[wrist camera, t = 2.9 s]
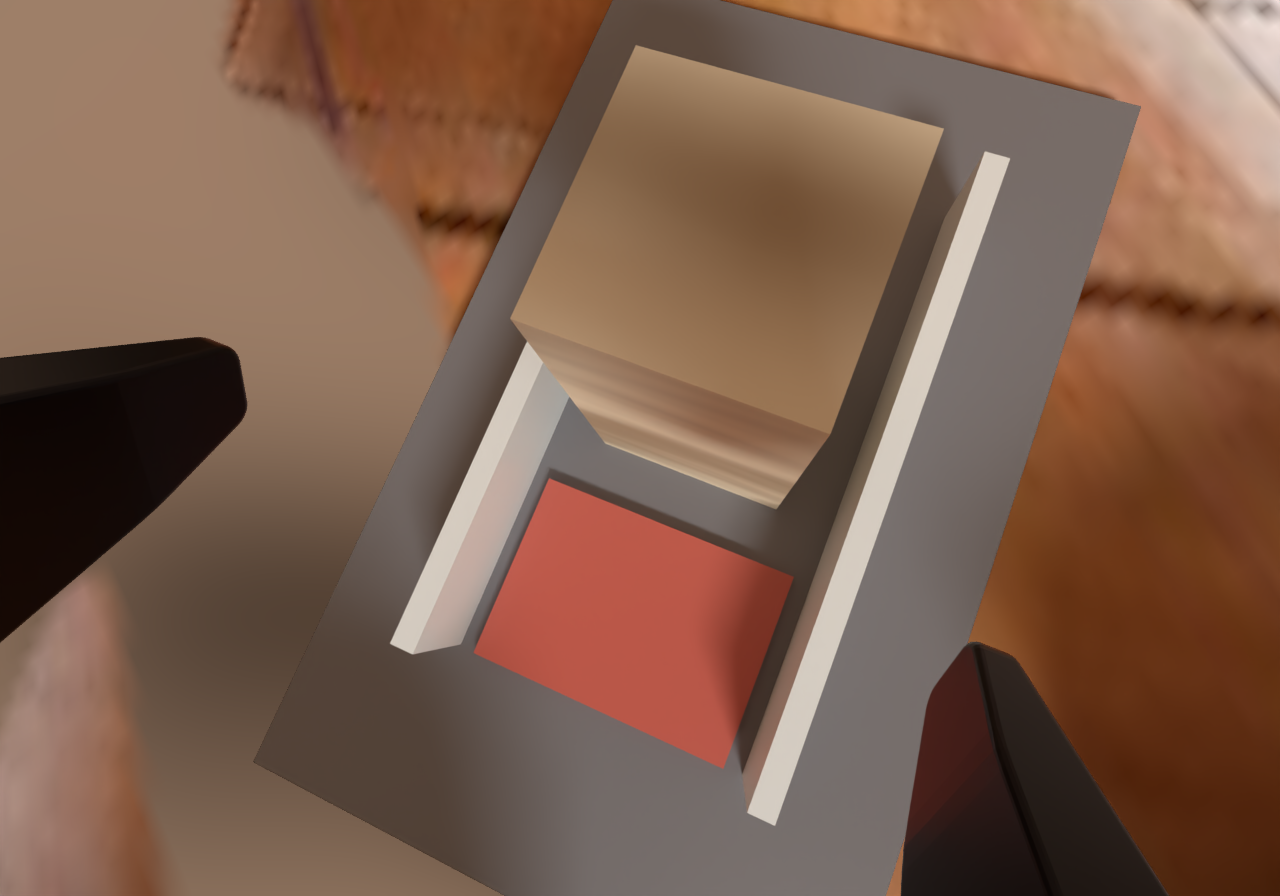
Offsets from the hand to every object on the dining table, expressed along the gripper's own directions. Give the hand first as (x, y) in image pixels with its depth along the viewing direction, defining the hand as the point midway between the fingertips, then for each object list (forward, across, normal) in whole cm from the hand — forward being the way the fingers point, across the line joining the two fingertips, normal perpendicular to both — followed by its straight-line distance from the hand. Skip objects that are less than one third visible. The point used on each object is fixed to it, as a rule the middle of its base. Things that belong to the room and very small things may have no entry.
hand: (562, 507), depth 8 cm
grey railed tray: (+11, 0, +6) cm, 12 cm away
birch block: (+11, 0, +4) cm, 12 cm away
